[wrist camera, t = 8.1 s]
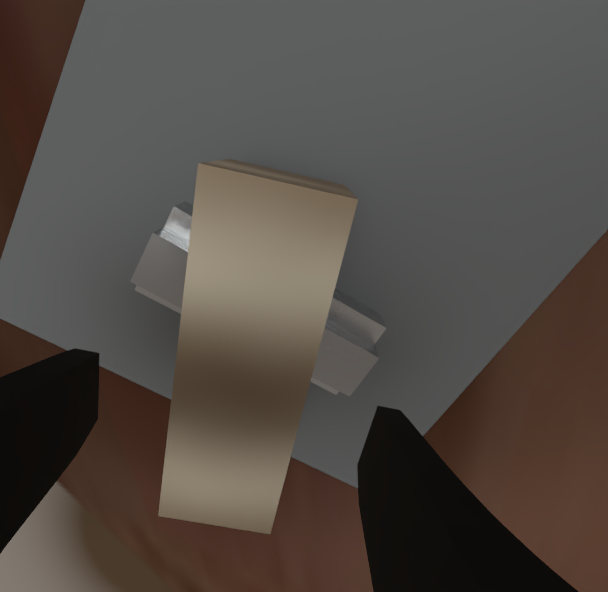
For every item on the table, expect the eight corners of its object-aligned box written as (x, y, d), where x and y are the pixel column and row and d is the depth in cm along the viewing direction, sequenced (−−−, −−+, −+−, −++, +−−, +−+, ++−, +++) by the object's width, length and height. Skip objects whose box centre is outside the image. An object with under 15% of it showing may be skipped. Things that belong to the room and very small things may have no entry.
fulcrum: (380, 314, 18) (392, 341, 15) (334, 377, 19) (338, 411, 17) (185, 201, 16) (162, 211, 14) (148, 278, 17) (121, 300, 15)
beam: (278, 452, 18) (270, 534, 14) (190, 436, 17) (158, 515, 14) (344, 185, 13) (358, 199, 10) (229, 158, 13) (198, 162, 9)
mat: (717, 91, 15) (732, 89, 15) (369, 486, 23) (370, 494, 22) (212, -347, 11) (207, -374, 11) (-7, 305, 19) (-16, 310, 18)
